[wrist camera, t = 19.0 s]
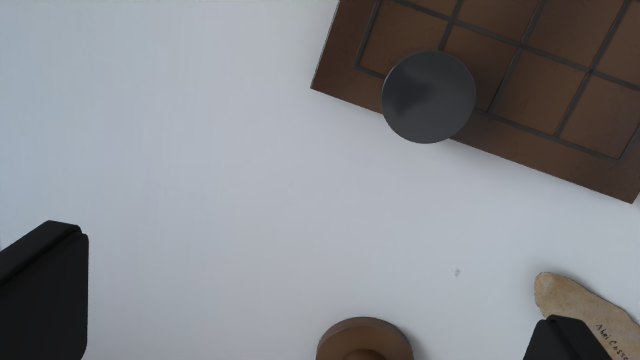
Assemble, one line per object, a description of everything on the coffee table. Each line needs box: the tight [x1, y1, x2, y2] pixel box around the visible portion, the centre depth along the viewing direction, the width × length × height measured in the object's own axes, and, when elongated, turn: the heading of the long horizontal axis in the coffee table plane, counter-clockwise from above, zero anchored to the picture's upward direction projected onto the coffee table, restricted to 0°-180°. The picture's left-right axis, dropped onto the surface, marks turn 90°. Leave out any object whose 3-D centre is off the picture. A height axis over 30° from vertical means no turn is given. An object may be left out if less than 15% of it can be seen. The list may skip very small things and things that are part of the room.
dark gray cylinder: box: [379, 47, 476, 144], centre depth 26 cm, size 5×5×2 cm
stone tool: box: [534, 272, 640, 360], centre depth 32 cm, size 5×2×15 cm
